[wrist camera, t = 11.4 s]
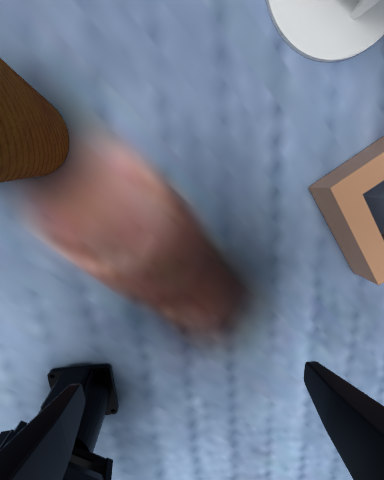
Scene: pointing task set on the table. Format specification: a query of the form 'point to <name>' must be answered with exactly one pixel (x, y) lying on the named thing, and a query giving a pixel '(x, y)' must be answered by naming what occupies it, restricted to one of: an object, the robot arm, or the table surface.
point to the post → (376, 204)
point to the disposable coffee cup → (28, 130)
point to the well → (355, 210)
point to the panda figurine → (328, 26)
